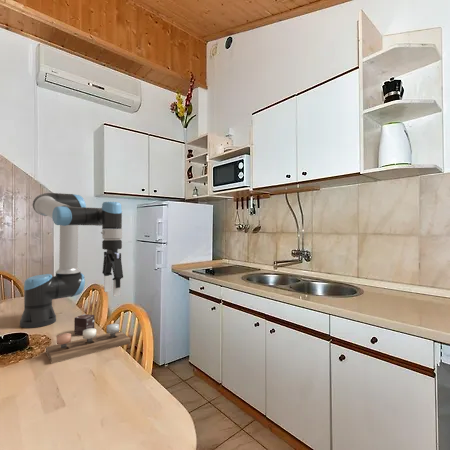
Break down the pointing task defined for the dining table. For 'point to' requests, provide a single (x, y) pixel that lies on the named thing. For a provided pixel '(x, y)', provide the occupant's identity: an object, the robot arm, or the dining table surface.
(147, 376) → the dining table surface
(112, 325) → the grey knob
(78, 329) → the box
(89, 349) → the panel
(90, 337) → the key ivory
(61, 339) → the pink rounded piece
